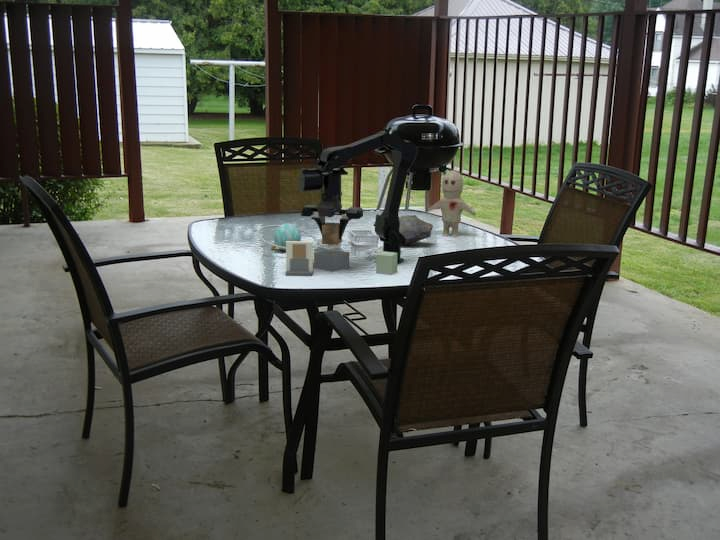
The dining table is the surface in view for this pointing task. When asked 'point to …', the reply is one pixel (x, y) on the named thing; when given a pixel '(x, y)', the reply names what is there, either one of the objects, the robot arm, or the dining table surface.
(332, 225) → the walnut block
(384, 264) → the sage block
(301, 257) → the plaque
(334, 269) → the slate base
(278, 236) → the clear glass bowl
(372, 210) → the dining table surface
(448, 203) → the toy
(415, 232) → the stone
